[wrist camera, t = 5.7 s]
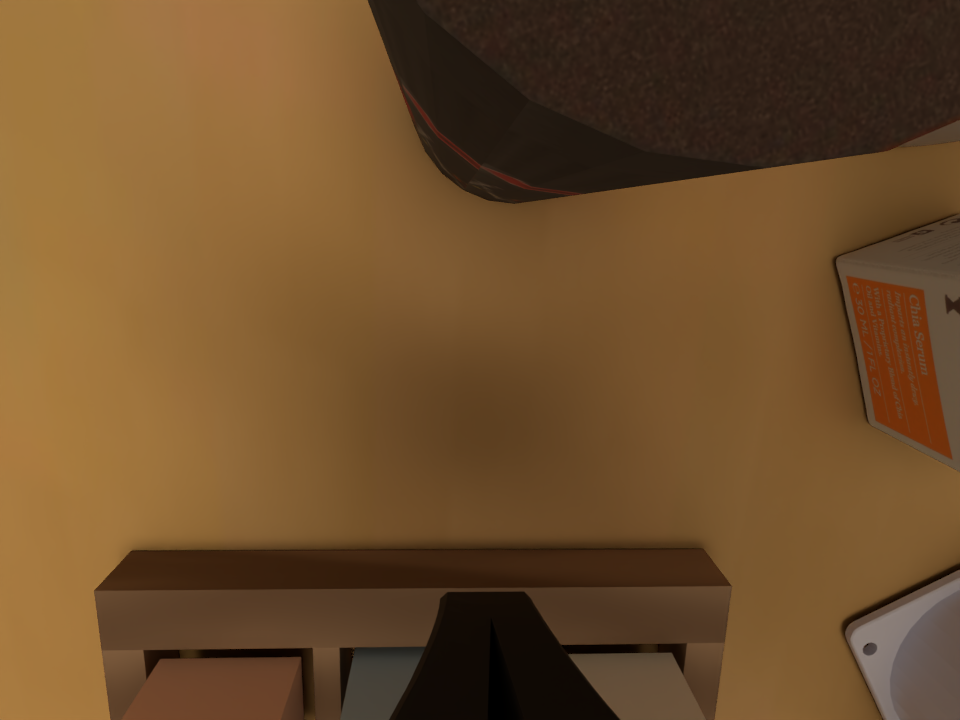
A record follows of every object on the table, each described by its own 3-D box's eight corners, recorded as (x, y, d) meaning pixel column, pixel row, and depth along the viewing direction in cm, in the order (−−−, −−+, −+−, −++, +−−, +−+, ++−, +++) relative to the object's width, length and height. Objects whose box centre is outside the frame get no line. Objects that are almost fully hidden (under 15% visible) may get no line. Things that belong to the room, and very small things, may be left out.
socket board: (677, 766, 23) (701, 822, 21) (156, 778, 22) (125, 838, 20) (703, 549, 21) (731, 586, 19) (131, 551, 20) (93, 590, 18)
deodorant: (550, 240, 19) (908, 336, 4) (372, 136, 18) (45, -203, 3) (657, 55, 18) (1619, -666, 3) (474, -66, 17) (652, -1872, 2)
